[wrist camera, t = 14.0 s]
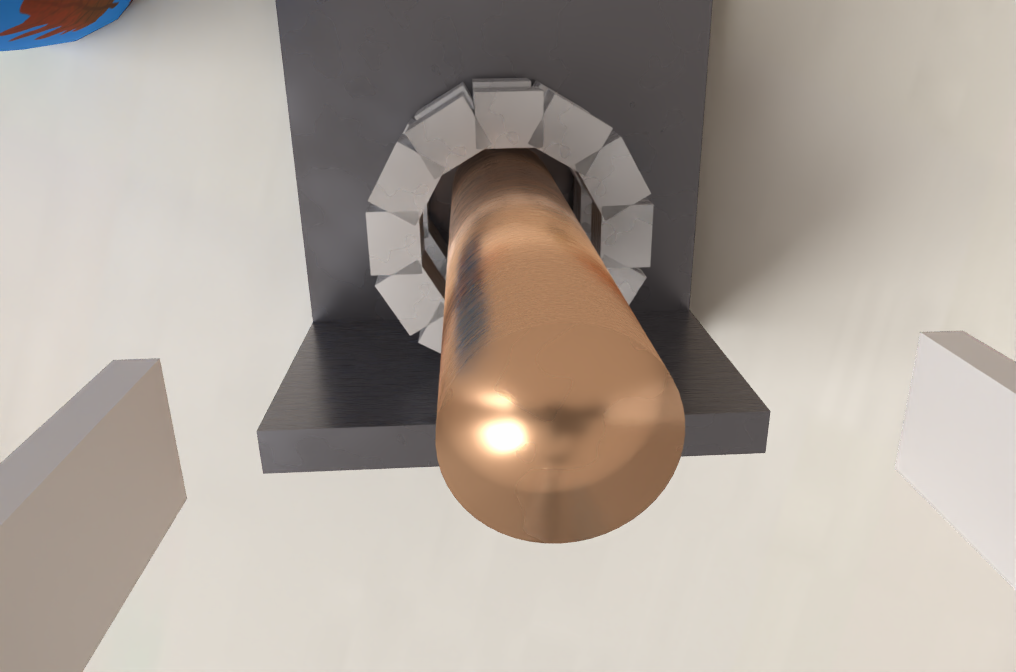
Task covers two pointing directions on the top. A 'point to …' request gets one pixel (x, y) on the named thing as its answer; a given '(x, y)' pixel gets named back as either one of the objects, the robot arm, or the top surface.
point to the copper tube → (544, 366)
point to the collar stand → (428, 192)
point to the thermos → (53, 20)
